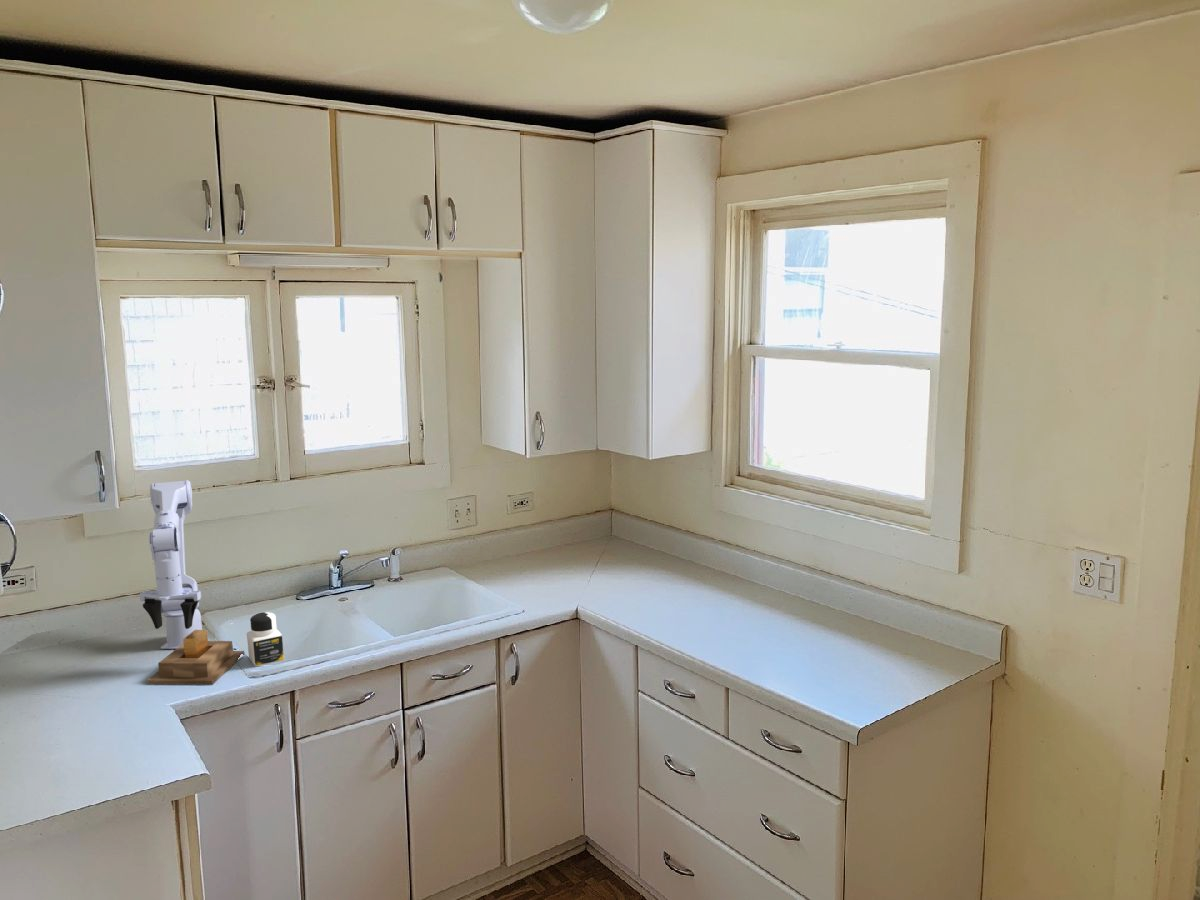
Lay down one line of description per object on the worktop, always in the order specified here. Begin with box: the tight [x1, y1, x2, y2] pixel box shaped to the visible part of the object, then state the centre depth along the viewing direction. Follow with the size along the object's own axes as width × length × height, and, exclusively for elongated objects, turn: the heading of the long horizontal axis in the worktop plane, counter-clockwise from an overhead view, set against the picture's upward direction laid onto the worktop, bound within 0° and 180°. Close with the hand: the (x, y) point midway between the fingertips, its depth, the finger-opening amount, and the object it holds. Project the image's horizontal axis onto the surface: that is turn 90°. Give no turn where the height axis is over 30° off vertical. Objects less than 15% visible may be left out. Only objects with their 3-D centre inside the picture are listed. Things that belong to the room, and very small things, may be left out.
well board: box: [146, 640, 246, 686], centre depth 227 cm, size 18×16×4 cm
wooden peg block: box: [183, 629, 209, 658], centre depth 227 cm, size 6×3×8 cm, turn 177°
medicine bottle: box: [246, 611, 285, 668], centre depth 232 cm, size 7×7×12 cm
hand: (173, 627), depth 228 cm, fingers open, 7 cm apart
